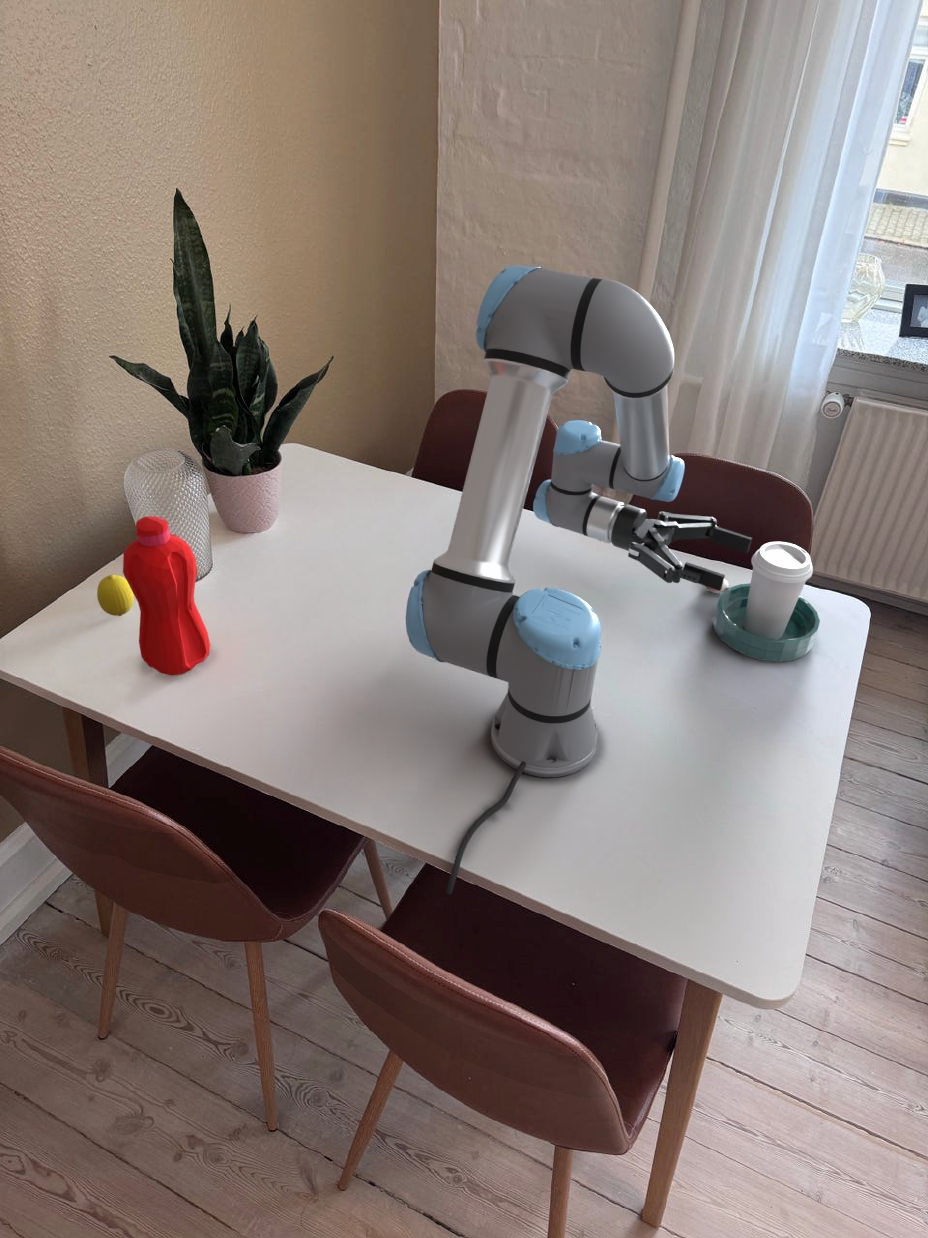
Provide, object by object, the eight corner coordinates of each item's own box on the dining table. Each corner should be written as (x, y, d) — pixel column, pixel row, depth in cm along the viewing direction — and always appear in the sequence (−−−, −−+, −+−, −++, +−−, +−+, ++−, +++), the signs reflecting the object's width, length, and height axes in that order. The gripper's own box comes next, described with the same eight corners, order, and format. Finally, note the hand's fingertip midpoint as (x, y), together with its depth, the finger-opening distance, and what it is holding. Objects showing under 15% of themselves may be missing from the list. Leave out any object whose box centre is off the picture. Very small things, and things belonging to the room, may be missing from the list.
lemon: (142, 607, 156) (134, 567, 151) (129, 626, 151) (120, 586, 147) (110, 604, 156) (101, 564, 151) (96, 623, 152) (86, 583, 147)
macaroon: (701, 593, 165) (704, 581, 164) (704, 578, 169) (707, 566, 168) (725, 598, 164) (728, 586, 163) (728, 583, 168) (731, 571, 166)
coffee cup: (799, 648, 152) (823, 573, 143) (741, 645, 152) (762, 570, 143) (784, 613, 160) (806, 540, 151) (729, 611, 160) (748, 537, 151)
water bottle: (228, 648, 148) (208, 513, 133) (175, 685, 140) (148, 545, 125) (187, 627, 152) (163, 493, 137) (134, 662, 144) (102, 524, 129)
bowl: (784, 677, 147) (791, 655, 145) (694, 633, 156) (699, 611, 153) (828, 632, 157) (836, 611, 155) (741, 593, 166) (747, 572, 163)
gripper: (643, 513, 172) (755, 549, 163) (584, 575, 155) (705, 619, 146) (650, 477, 167) (765, 512, 159) (589, 537, 150) (714, 580, 141)
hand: (736, 563), depth 152 cm, fingers open, 13 cm apart
